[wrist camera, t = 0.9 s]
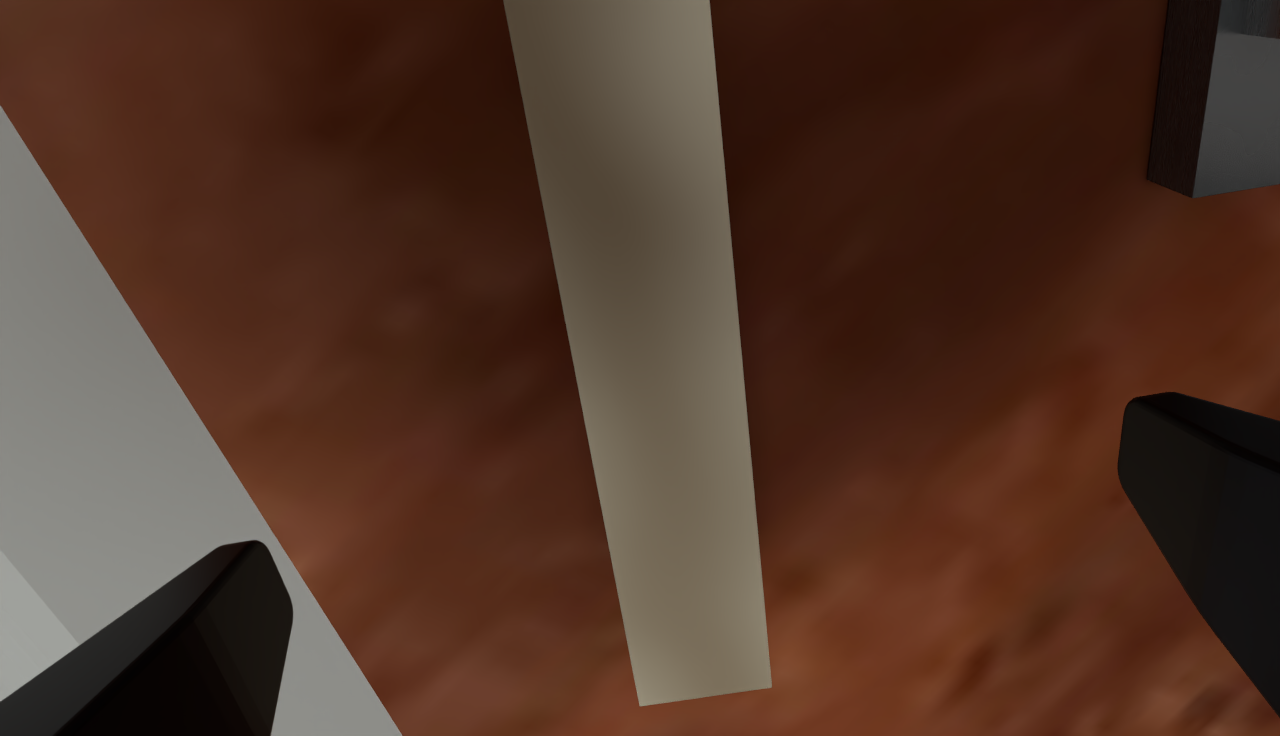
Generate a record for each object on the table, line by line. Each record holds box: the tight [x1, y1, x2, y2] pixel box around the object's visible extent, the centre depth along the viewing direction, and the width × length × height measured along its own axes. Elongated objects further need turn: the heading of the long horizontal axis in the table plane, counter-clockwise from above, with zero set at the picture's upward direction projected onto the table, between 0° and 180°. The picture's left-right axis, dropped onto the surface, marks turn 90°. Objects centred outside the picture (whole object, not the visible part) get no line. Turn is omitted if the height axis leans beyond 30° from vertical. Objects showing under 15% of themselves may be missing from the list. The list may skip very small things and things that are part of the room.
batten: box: [503, 0, 772, 706], centre depth 16 cm, size 3×18×5 cm, turn 8°
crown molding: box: [0, 106, 402, 736], centre depth 21 cm, size 31×12×4 cm, turn 17°
